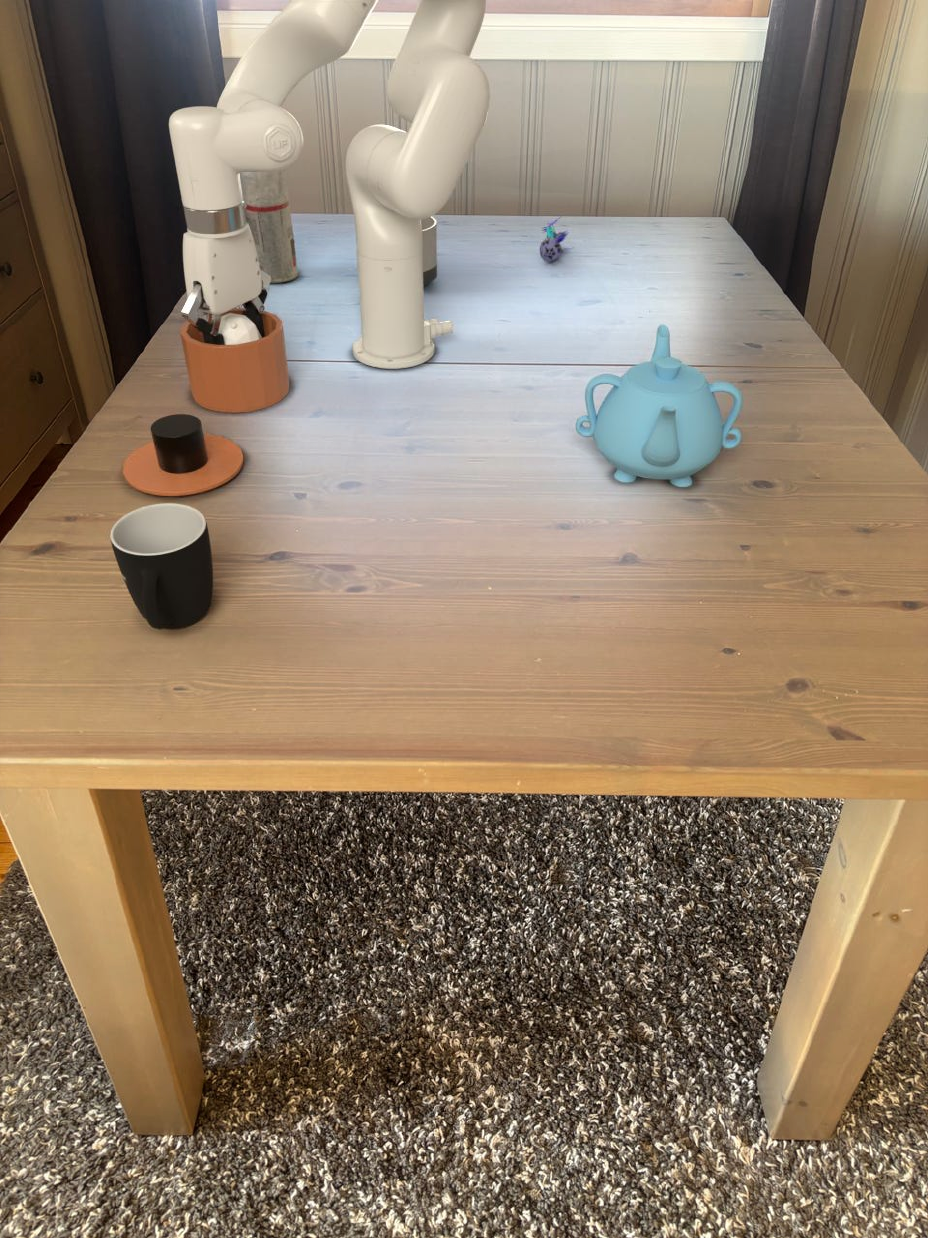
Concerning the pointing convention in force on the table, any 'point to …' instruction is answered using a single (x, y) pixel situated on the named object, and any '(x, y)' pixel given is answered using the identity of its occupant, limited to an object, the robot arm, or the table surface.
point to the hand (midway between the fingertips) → (236, 349)
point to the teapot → (660, 418)
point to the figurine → (552, 243)
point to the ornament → (238, 329)
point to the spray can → (270, 223)
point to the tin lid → (182, 459)
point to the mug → (166, 563)
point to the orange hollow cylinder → (237, 368)
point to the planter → (429, 249)
